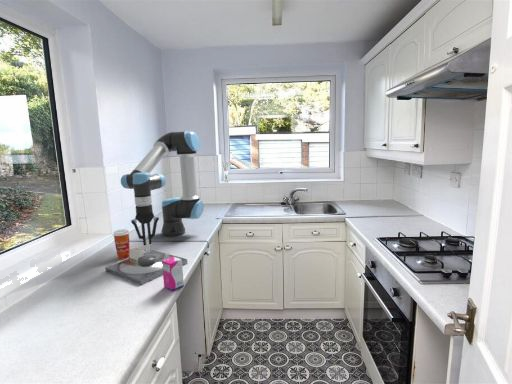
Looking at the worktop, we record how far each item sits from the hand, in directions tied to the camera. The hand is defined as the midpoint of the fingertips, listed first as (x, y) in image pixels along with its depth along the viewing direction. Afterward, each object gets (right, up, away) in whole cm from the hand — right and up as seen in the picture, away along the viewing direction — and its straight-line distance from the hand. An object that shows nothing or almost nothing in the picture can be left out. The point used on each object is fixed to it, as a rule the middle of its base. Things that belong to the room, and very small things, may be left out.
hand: (148, 251), depth 147 cm
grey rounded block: (-1, -4, -6) cm, 7 cm away
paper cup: (-15, -5, +6) cm, 17 cm away
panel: (+2, -6, -7) cm, 10 cm away
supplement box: (+20, -9, -27) cm, 35 cm away
